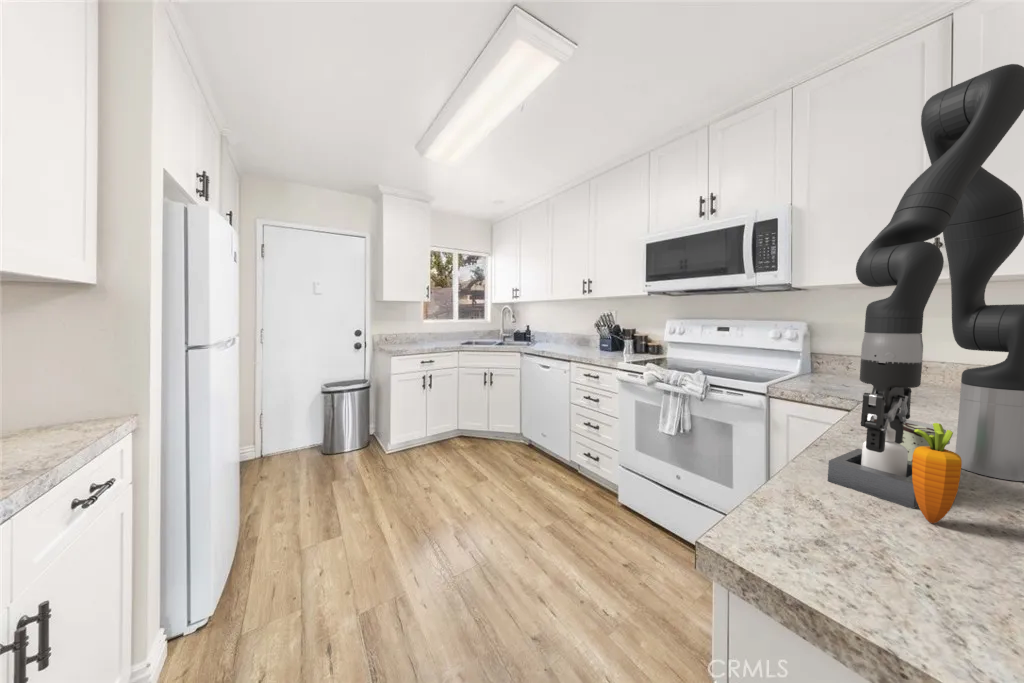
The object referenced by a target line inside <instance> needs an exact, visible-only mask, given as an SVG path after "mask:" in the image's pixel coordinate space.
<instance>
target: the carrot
mask: <svg viewBox="0 0 1024 683" xmlns="http://www.w3.org/2000/svg"><path fill="white" fill-rule="evenodd" d="M932 425H933V427H934V431H935V436H933V435H928V434H927V433H925V432H924V431H922V430H919V429H915V430H914V432H915V433H917V434H919V435H921V436H922V437H923V438H924V439H925V440H926V441H927V442H928V444H929V446H920V447H917V448H915V450H914V452H913V460H912V481H913V487H914V493H915V497H916V501H917V503H918V506H917V507H919V510H920V512H921V513H922V516H923V517H924V518H925V520H926V521H927V522H929V524H932V525H933V524H936V523H937V524H938V523H939V522H940V521H942V519H944V517H945V516H946V515H947V514H948V513H949V511H950V510H951V508H952V506H953V504H954V502H955V500H956V497H957V494H958V491H959V485H960V481H961V475H962V474H961V472H962V468H961V466H962V460H961V457H960V456H959V455H958V454H956V453H955V451H952V450H948V449H947V448H946V449H945V447H947V443H948V442H949V441H950V442H951V439H952V437H953V434H954V431H952V430H950V429H946V433H945V434H944V430H943V429H944V427H943V425H942V424H941V423H938V422H934V423H933V422H932Z"/></svg>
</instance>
